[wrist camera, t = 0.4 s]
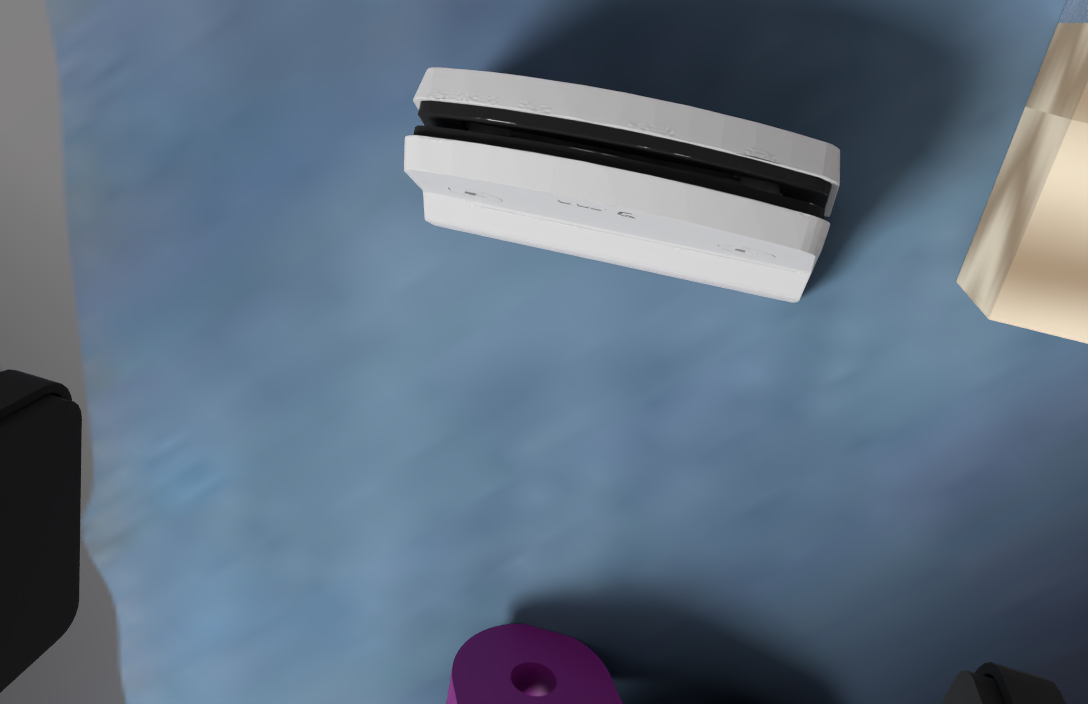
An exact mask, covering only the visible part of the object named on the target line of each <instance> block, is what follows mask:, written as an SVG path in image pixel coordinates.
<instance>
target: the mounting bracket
mask: <svg viewBox="0 0 1088 704" xmlns="http://www.w3.org/2000/svg"><path fill="white" fill-rule="evenodd" d="M446 704H623V703H622V701H621V699H620V697H619V694H618V692H617V690H616V687H615V685H614V683H613V680H612V678H611V676H610V673H609V671H608V669H607V668H606V666H605V665H604V663H603V662H602V661H601V659H600V658H599V657H598V656H597V655H596V654H595V653H594V652H593V651H592V650H591V649H590V648H589V647H587V646H586V645H585V644H583V643H582V642H580V641H579V640H577V639H575V638H573V637H570V636H566V635H562V634H559V633H555V632H552V631H548V630H544V629H541V628H537V627H533V626H530V625H526V624H507V625H500V626H496V627H492V628H489V629H486V630H484V631H482V632H480V633H478V634H476V635H474V636H473V637H471V638H470V639H469V640H468V641H466V642H465V643H464V645H463V646H462V647H461V648H460V650H459V651H458V653H457V655H456V657H455V659H454V662H453V667H452V673H451V679H450V685H449V691H448V697H447V703H446Z"/></svg>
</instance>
